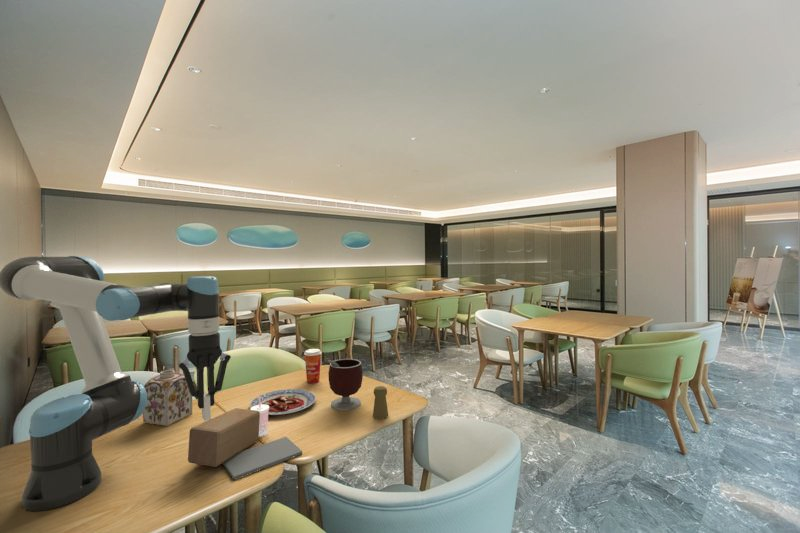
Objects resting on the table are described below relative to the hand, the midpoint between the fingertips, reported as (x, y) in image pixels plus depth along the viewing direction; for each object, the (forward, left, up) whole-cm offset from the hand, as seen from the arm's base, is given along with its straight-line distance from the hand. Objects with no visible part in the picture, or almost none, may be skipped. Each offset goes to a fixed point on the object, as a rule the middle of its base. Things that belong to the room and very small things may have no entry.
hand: (206, 418), depth 100 cm
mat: (+15, 0, -17) cm, 23 cm away
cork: (+60, 0, -17) cm, 63 cm away
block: (-1, +4, -10) cm, 10 cm away
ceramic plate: (+36, +34, -17) cm, 53 cm away
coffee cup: (+59, +53, -17) cm, 81 cm away
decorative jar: (-2, +51, -17) cm, 54 cm away
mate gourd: (+55, +18, -17) cm, 60 cm away
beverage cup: (+20, +16, -17) cm, 31 cm away
